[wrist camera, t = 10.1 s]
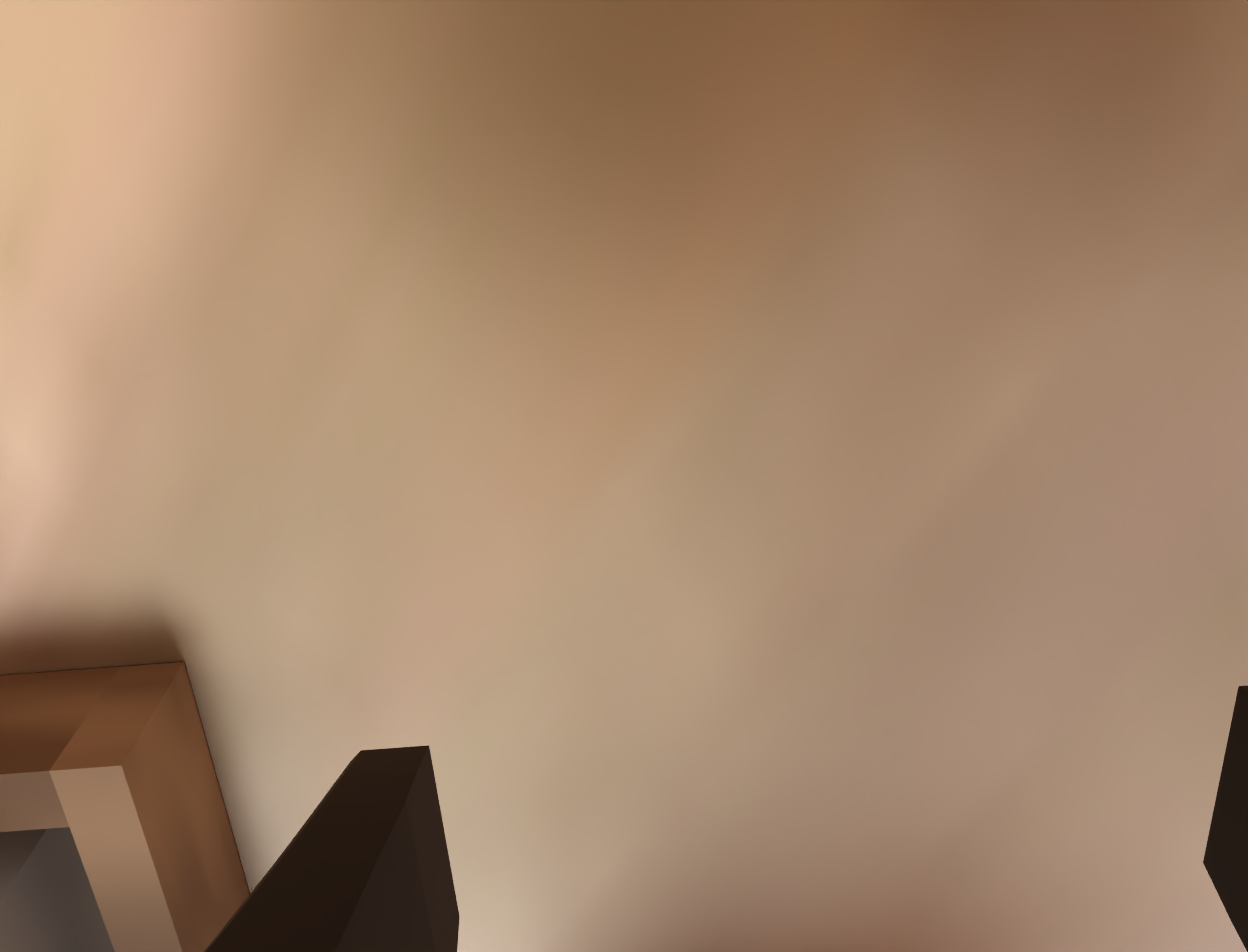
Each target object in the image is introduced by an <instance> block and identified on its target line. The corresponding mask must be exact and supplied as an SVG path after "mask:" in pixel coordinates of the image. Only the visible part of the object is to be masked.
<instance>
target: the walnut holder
mask: <svg viewBox="0 0 1248 952" xmlns="http://www.w3.org/2000/svg"><path fill="white" fill-rule="evenodd" d="M64 827H70V830H71V833H72V835H73V838H74V841H75V844H76V846H77V849H78V852H79V855H80V857H81V860H82V863H83V866H84V868H85V871H86V874H87V877H88V879H89V882H90V885H91V888H92V891H93V893H94V896H95V899H96V902H97V904H98V907H99V910H100V913H101V915H102V918H103V921H104V924H105V926H106V929H107V932H108V935H109V937H110V940H111V943H112V946H113V948H114V951H115V952H204V951H205V949H206V948H207V947H208V946H209V945H210V943H211V942H212V941H213V940H214V939H215V937H216V936H217V935H218V934H219V932H220V931H221V930H222V929H223V927H224V926H225V925H226V924H227V922H228V921H229V920H230V919H231V917H232V916H233V915H234V914H235V912H236V911H237V910H238V909H239V907H240V906H241V905H242V904H243V902H244V901H245V900H246V899H247V897H248V896H249V895H250V894H249V891H248V887H247V884H246V880H245V877H244V873H243V869H242V866H241V862H240V859H239V855H238V852H237V848H236V845H235V841H234V838H233V834H232V831H231V827H230V824H229V820H228V817H227V813H226V809H225V806H224V802H223V799H222V795H221V792H220V788H219V785H218V781H217V778H216V774H215V771H214V767H213V764H212V760H211V757H210V753H209V749H208V746H207V742H206V739H205V735H204V732H203V728H202V725H201V721H200V718H199V714H198V711H197V707H196V704H195V700H194V697H193V693H192V689H191V686H190V682H189V679H188V675H187V672H186V668H185V665H184V662H177V663H163V664H149V665H136V666H122V667H109V668H95V669H82V670H68V671H54V672H41V673H27V674H14V675H0V832H9V831H23V830H37V829H50V828H64Z"/></svg>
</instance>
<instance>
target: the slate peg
mask: <svg viewBox="0 0 1248 952" xmlns="http://www.w3.org/2000/svg"><path fill="white" fill-rule="evenodd" d="M0 952H115V951H114V948H113V946H112V943H111V940H110V937H109V935H108V932H107V929H106V926H105V924H104V921H103V918H102V915H101V913H100V910H99V907H98V904H97V902H96V899H95V896H94V893H93V891H92V888H91V885H90V882H89V879H88V877H87V874H86V871H85V868H84V866H83V863H82V860H81V857H80V855H79V852H78V849H77V846H76V844H75V841H74V838H73V835H72V833H71V830H70V827H64V828H50V829H37V830H23V831H9V832H0Z"/></svg>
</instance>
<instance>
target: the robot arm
mask: <svg viewBox="0 0 1248 952" xmlns="http://www.w3.org/2000/svg"><path fill="white" fill-rule="evenodd" d="M1203 863H1204V865H1205V867H1206V870H1207V872H1208V874H1209V876H1210V878H1211V880H1212V882H1213V884H1214V886H1215V888H1216V890H1217V892H1218V894H1219V897H1220V899H1221V901H1222V903H1223V905H1224V907H1225V909H1226V911H1227V913H1228V915H1229V917H1230V919H1231V921H1232V923H1233V925H1234V927H1235V929H1236V931H1237V933H1238V935H1239V937H1240V939H1241V941H1242V942H1243V944H1244V946H1245V948H1246V950H1247V952H1248V686H1239V688H1238V692H1237V697H1236V702H1235V707H1234V712H1233V717H1232V722H1231V727H1230V732H1229V737H1228V742H1227V747H1226V752H1225V757H1224V762H1223V767H1222V772H1221V777H1220V782H1219V787H1218V792H1217V797H1216V801H1215V806H1214V811H1213V816H1212V821H1211V826H1210V831H1209V836H1208V841H1207V846H1206V851H1205V856H1204V861H1203ZM458 929H459V912H458V906H457V901H456V895H455V890H454V884H453V878H452V873H451V867H450V861H449V856H448V850H447V845H446V839H445V833H444V828H443V822H442V816H441V811H440V805H439V800H438V794H437V788H436V783H435V777H434V771H433V766H432V760H431V755H430V749H429V746H417V747H403V748H390V749H376V750H362V751H360V752H359V753H358V754H357V755H356V756H355V758H354V759H353V760H352V761H351V762H350V763H349V764H348V766H347V767H346V768H345V770H344V771H343V773H342V774H341V775H340V777H339V778H338V779H337V781H336V782H335V783H334V785H333V786H332V787H331V789H330V790H329V791H328V793H327V794H326V795H325V797H324V798H323V800H322V801H321V802H320V804H319V805H318V806H317V808H316V809H315V810H314V812H313V813H312V814H311V816H310V817H309V818H308V820H307V821H306V822H305V824H304V825H303V826H302V828H301V829H300V831H299V832H298V833H297V834H296V836H295V837H294V838H293V840H292V841H291V842H290V844H289V845H288V846H287V848H286V849H285V850H284V852H283V853H282V854H281V855H280V857H279V858H278V859H277V861H276V862H275V863H274V865H273V866H272V867H271V869H270V870H269V871H268V872H267V874H266V875H265V876H264V877H263V879H262V880H261V881H260V882H259V884H258V885H257V886H256V887H255V889H254V890H253V891H252V892H251V894H250V895H249V896H248V897H247V899H246V900H245V901H244V902H243V904H242V905H241V906H240V907H239V909H238V910H237V911H236V912H235V914H234V915H233V916H232V917H231V919H230V920H229V921H228V922H227V924H226V925H225V926H224V927H223V929H222V930H221V931H220V932H219V934H218V935H217V936H216V937H215V939H214V940H213V941H212V942H211V943H210V945H209V946H208V947H207V948H206V949H205V951H204V952H457V943H458Z"/></svg>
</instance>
